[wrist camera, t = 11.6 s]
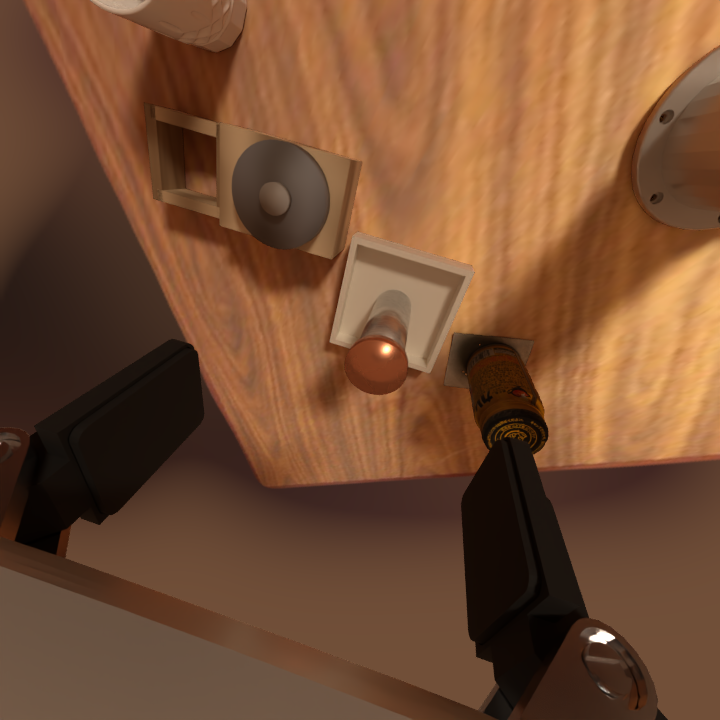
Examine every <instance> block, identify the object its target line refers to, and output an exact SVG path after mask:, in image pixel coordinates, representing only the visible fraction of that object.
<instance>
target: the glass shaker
mask: <svg viewBox="0 0 720 720" xmlns="http://www.w3.org/2000/svg"><path fill="white" fill-rule="evenodd" d="M410 315H411V302H410V299H409V298H408V296H407V295H406V294H405V293H403V292H401V291H399V290H387V291H385V292H383V293H381V294H380V295H379V297H378V298H377V300H376V302H375V304H374V307H373V309H372V311H371V314H370V316H369V318H368V321H367V323H366V325H365V328H364V330H363V332H362V335H361V337H360V339H358V340H357V341H356V342H355V343H354V344H353V345H352V346H351V348H350V350H349V352H348V354H347V356H346V359H345V371H346V374H347V377H348V378H349V380H350V381H351V383H352V384H353V385H354V386H356V387H357V388H358V389H360V390H362V391H364V392H366V393H369V394H374V395H383V394H388V393H391V392H394V391H395V390H397V389H398V388H400V386H401V385H402V384H403V383H404V381H405V379H406V376H407V371H408V358H407V354H406V352H405V348H406V341H407V335H408V328H409V321H410Z"/></svg>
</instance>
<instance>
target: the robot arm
mask: <svg viewBox="0 0 720 720" xmlns="http://www.w3.org/2000/svg"><path fill="white" fill-rule="evenodd" d="M661 115H663V119H662V121H661V122H660V121H659V119H660V116H661ZM631 177H632V185H633V191H634V193H635V196H636V198H637V201H638V203H639V204H640V205H641V207H642V208H643V209H644V211H645V212H646V213H647V214H648V215H650V216H651V217H652V218H654V219H655V220H656V221H658V222H661V223H663V224H666V225H668V226H671V227H676V228H680V229H687V230H708V229H718V228H720V45H719V46H718V47H716V48H714V49H713V50H711V51H710V52H709V53H707V54H706V55H705V56H703V57H702V58H701V59H699V60H698V61H697V62H695V63H694V64H693V65H692V66H691V67H690V68H689V69H687V70H686V71H685V72H684V73H683V74H682V75H681V76H680V77H679V78H678V79H677V80H676V81H675V82H674V83H673V84H672V85H671V87H670V88H669V89H668V90H667V92H666V93H665V94H664V95H663V96H662V98H661V99H660V100H659V101H658V103H657V104H656V106H655V108H654V109H653V111H652V112H651V114H650V115H649V117H648V119H647V120H646V122H645V124H644V127H643V129H642V131H641V133H640V136H639V138H638V140H637V144H636V147H635V151H634V155H633V159H632V170H631ZM652 195H654V197H653V199H652V200H650V199H651V196H652ZM203 418H204V407H203V398H202V387H201V378H200V368H199V359H198V353H197V351H196V350H194V347H193V345H191V344H189V343H185V342H182V341H178V340H175V339H171V340H168V341H167V342H165V343H164V344H162V345H161V346H159V347H158V348H156V349H154V350H153V351H151V352H150V353H148V354H146V355H145V356H143V357H142V358H140V359H139V360H137V361H136V362H134V363H132V364H131V365H129V366H128V367H126V368H124V369H123V370H121V371H120V372H118V373H116V374H115V375H113V376H112V377H110V378H109V379H107V380H106V381H104V382H102V383H101V384H99V385H98V386H96V387H94V388H93V389H91V390H90V391H88V392H87V393H85V394H83V395H82V396H80V397H79V398H77V399H76V400H74V401H73V402H71V403H69V404H68V405H66V406H65V407H63V408H61V409H60V410H58V411H57V412H55V413H54V414H52V415H50V416H49V417H48V418H46V419H44V420H43V421H41V422H39V423H38V424H36V425H35V426H34V427H35V429H36V431H37V432H35V433H34V434H32V435H31V436H29V435H28V434H27V432H25V431H23V430H21V429H18V428H10V427H7V428H0V720H668V719H667V718H666V717H665V716H664V715H663V714H662V713H661V712H660V710H659V709H658V708H657V703H658V698H657V694H656V690H655V686H654V682H653V680H652V678H651V676H650V674H649V672H648V669H647V667H646V666H645V664H644V663H643V661H642V660H641V658H640V657H639V655H638V654H637V652H636V651H635V650H634V648H633V647H632V646H631V645H630V644H629V643H628V642H627V641H626V640H625V638H624V637H623V636H621V635H620V634H619V633H617V632H616V631H615V630H614V629H613V628H612V627H610V626H608V625H607V624H604V623H603V622H601V621H599V620H596V619H591V618H589V616H588V613H587V610H586V607H585V604H584V601H583V598H582V595H581V592H580V589H579V586H578V583H577V580H576V576H575V573H574V570H573V567H572V564H571V561H570V558H569V555H568V552H567V549H566V546H565V543H564V539H563V536H562V533H561V530H560V527H559V524H558V521H557V518H556V515H555V512H554V509H553V506H552V504H551V502H550V500H549V499H548V498H547V497H546V495H545V492H544V489H543V486H542V482H541V479H540V476H539V473H538V470H537V466H536V463H535V460H534V457H533V454H532V451H531V447H530V445H529V443H528V442H525V441H522V440H519V439H515V438H512V437H508V436H506V437H504V438H503V440H500V439H498V440H496V442H495V443H494V445H493V446H492V448H491V450H490V451H489V453H488V455H487V456H486V458H485V460H484V461H483V463H482V465H481V466H480V468H479V469H478V471H477V473H476V474H475V476H474V478H473V479H472V481H471V483H470V484H469V486H468V488H467V489H466V491H465V493H464V495H463V498H462V503H461V510H462V527H463V544H464V545H463V546H464V564H465V581H466V598H467V617H468V632H469V636H470V639H471V640H472V641H475V643H476V657H478V658H481V659H484V660H486V661H489V662H492V663H493V667H494V677H495V681H496V684H495V686H494V687H493V689H492V690H491V692H490V693H489V695H488V696H487V698H486V699H485V701H484V702H483V704H482V705H481V707H480V708H479V710H475V709H473V708H470V707H468V706H465V705H462V704H460V703H457V702H455V701H452V700H450V699H447V698H444V697H442V696H440V695H437V694H434V693H432V692H429V691H427V690H424V689H422V688H419V687H417V686H414V685H411V684H409V683H406V682H404V681H401V680H399V679H396V678H393V677H390V676H388V675H385V674H382V673H380V672H377V671H374V670H371V669H369V668H366V667H363V666H361V665H358V664H355V663H352V662H350V661H347V660H344V659H342V658H339V657H336V656H333V655H331V654H328V653H325V652H322V651H320V650H317V649H315V648H312V647H309V646H306V645H304V644H301V643H298V642H296V641H293V640H290V639H287V638H285V637H282V636H279V635H276V634H274V633H271V632H268V631H265V630H263V629H260V628H257V627H254V626H251V625H249V624H246V623H243V622H240V621H238V620H235V619H232V618H230V617H227V616H224V615H221V614H218V613H216V612H213V611H210V610H207V609H205V608H202V607H199V606H197V605H194V604H191V603H188V602H186V601H183V600H180V599H177V598H175V597H172V596H169V595H166V594H164V593H161V592H158V591H155V590H152V589H149V588H147V587H144V586H141V585H138V584H136V583H133V582H130V581H127V580H124V579H121V578H119V577H116V576H113V575H110V574H108V573H104V572H102V571H99V570H96V569H94V568H91V567H88V566H85V565H82V564H79V563H77V562H74V561H71V560H68V559H66V558H65V557H66V552H67V547H68V541H69V536H70V530H71V525H72V524H73V523H74V522H75V521H76V520H77V519H78V518H79V517H81V519H84V520H87V521H90V522H93V523H95V524H98V525H100V524H101V523H102V522H103V521H104V520H105V519H106V518H107V517H108V516H109V515H113V514H115V513H116V512H118V511H119V510H120V509H121V508H122V507H123V506H124V505H125V504H126V503H127V501H128V500H129V499H130V498H131V497H132V496H133V495H134V494H135V493H136V492H137V491H138V490H139V489H140V488H141V486H142V485H143V484H144V483H145V482H146V481H147V480H148V479H149V478H150V477H151V476H152V475H153V474H154V473H155V471H157V470H158V468H159V467H160V466H161V465H162V464H163V463H164V462H165V461H166V460H167V459H168V458H169V457H170V456H171V455H172V453H173V452H174V451H175V450H176V449H177V448H178V447H179V446H180V445H181V444H182V443H183V442H184V441H185V440H186V438H188V436H189V435H190V434H191V433H192V432H193V431H194V430H195V429H196V428H197V427H198V426H199V425H200V423H201V422H202V420H203Z"/></svg>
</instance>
